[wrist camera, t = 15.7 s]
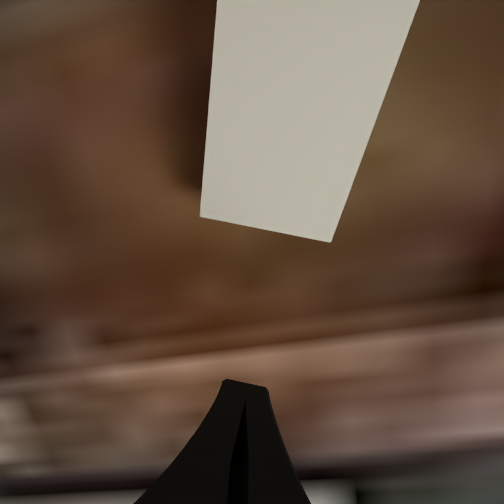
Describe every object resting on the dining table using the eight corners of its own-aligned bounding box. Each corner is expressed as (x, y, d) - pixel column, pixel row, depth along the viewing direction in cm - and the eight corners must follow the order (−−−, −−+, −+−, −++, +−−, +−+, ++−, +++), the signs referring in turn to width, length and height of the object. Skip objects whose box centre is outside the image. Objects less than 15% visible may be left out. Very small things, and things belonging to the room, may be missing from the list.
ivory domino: (330, 242, 14) (424, -12, 9) (199, 216, 14) (221, -54, 9) (329, 218, 16) (411, -18, 11) (208, 194, 16) (232, -55, 10)
